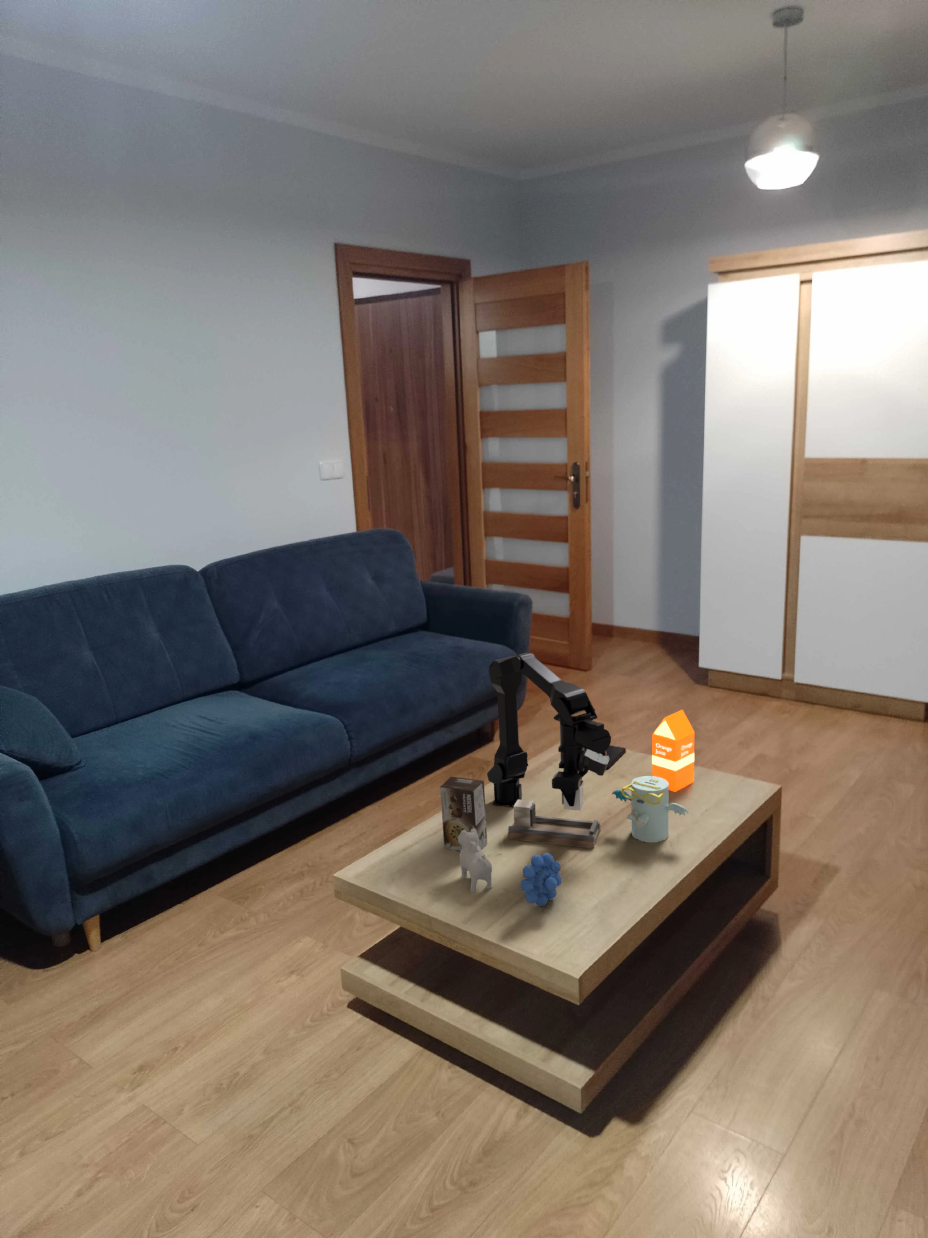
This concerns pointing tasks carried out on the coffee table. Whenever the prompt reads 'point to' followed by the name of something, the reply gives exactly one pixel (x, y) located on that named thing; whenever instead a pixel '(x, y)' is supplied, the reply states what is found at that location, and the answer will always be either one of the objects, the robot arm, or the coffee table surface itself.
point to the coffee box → (463, 810)
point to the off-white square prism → (578, 800)
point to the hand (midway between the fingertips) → (573, 802)
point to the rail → (551, 828)
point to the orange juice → (674, 751)
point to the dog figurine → (474, 859)
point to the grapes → (541, 879)
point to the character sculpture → (649, 807)
